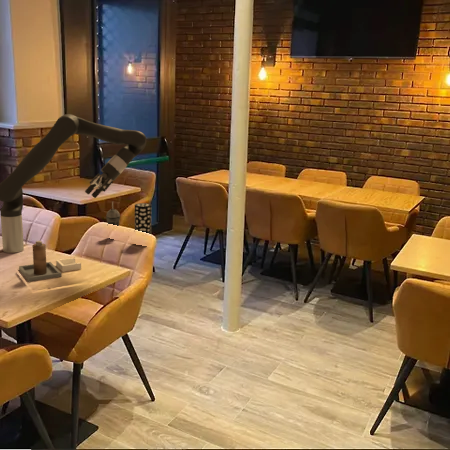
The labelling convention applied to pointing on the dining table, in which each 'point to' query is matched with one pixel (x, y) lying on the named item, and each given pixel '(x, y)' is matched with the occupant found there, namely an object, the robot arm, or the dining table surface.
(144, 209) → the spotted tube
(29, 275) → the serving tray
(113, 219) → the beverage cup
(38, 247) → the pepper mill
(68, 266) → the caddy slot
